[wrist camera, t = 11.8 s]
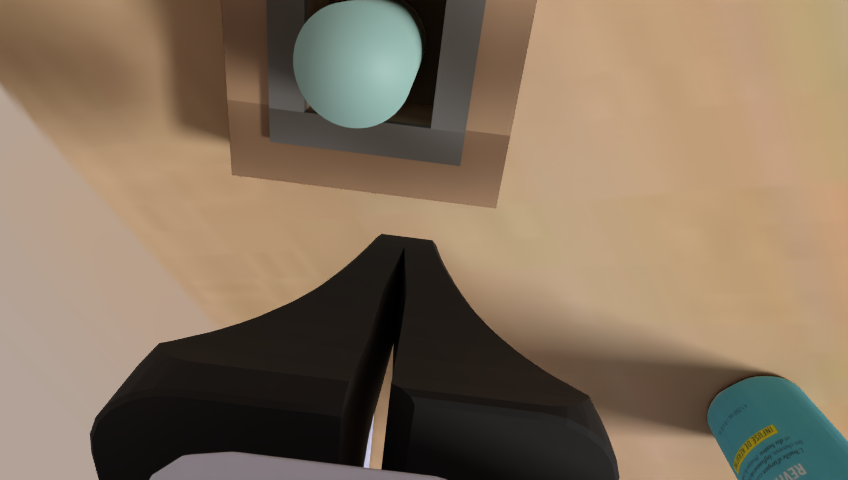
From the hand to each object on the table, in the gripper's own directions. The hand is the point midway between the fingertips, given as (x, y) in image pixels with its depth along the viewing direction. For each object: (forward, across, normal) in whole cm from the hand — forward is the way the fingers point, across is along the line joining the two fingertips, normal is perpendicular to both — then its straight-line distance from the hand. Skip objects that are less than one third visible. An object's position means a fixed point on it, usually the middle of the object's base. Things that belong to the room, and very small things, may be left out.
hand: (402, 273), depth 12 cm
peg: (+10, +2, -4) cm, 11 cm away
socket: (+10, +2, -4) cm, 11 cm away
